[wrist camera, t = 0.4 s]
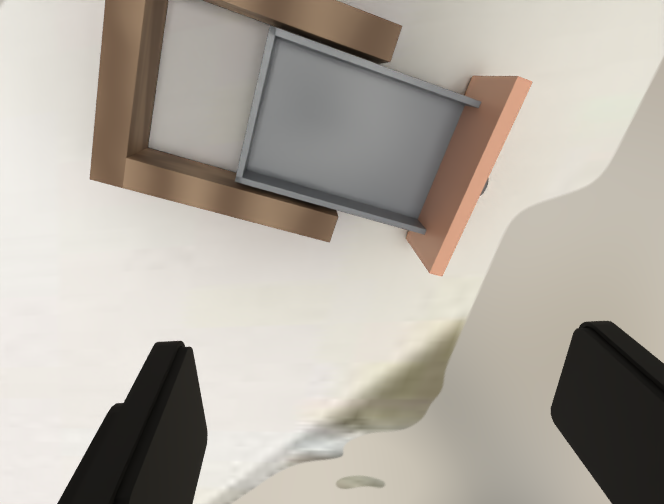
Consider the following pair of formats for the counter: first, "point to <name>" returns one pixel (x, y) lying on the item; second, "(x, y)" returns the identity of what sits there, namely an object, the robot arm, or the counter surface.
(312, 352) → the counter surface
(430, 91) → the tray
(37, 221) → the counter surface
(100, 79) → the housing
